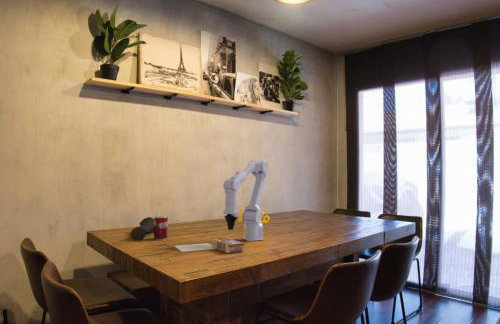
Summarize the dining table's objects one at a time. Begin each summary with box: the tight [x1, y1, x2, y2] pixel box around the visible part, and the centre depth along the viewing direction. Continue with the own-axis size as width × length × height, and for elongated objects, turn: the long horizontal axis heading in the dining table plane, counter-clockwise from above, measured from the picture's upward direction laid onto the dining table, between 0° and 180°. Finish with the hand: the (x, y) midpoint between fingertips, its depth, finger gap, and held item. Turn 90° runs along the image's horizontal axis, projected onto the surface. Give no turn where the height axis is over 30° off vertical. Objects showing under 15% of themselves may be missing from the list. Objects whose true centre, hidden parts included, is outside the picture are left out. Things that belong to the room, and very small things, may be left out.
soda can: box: [153, 215, 169, 241], centre depth 183 cm, size 7×7×12 cm
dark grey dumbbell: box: [130, 216, 154, 241], centre depth 191 cm, size 11×10×28 cm
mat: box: [174, 242, 217, 253], centre depth 163 cm, size 17×13×1 cm
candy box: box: [211, 237, 245, 254], centre depth 160 cm, size 9×4×15 cm
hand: (230, 229), depth 172 cm, fingers closed
